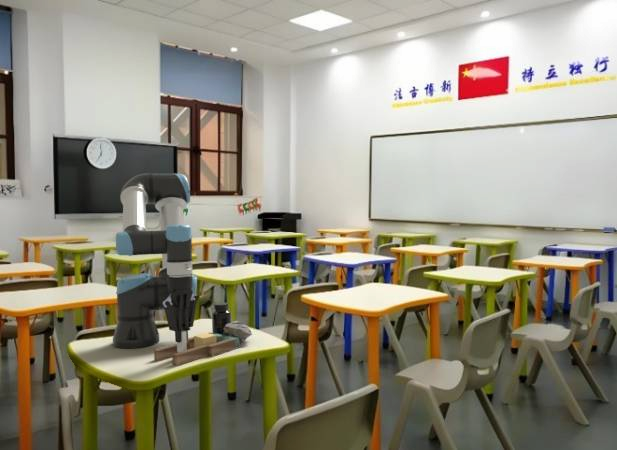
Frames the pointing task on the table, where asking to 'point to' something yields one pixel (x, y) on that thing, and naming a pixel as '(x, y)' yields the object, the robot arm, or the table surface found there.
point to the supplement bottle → (220, 317)
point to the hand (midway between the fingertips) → (182, 351)
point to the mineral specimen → (237, 330)
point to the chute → (196, 350)
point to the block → (204, 339)
